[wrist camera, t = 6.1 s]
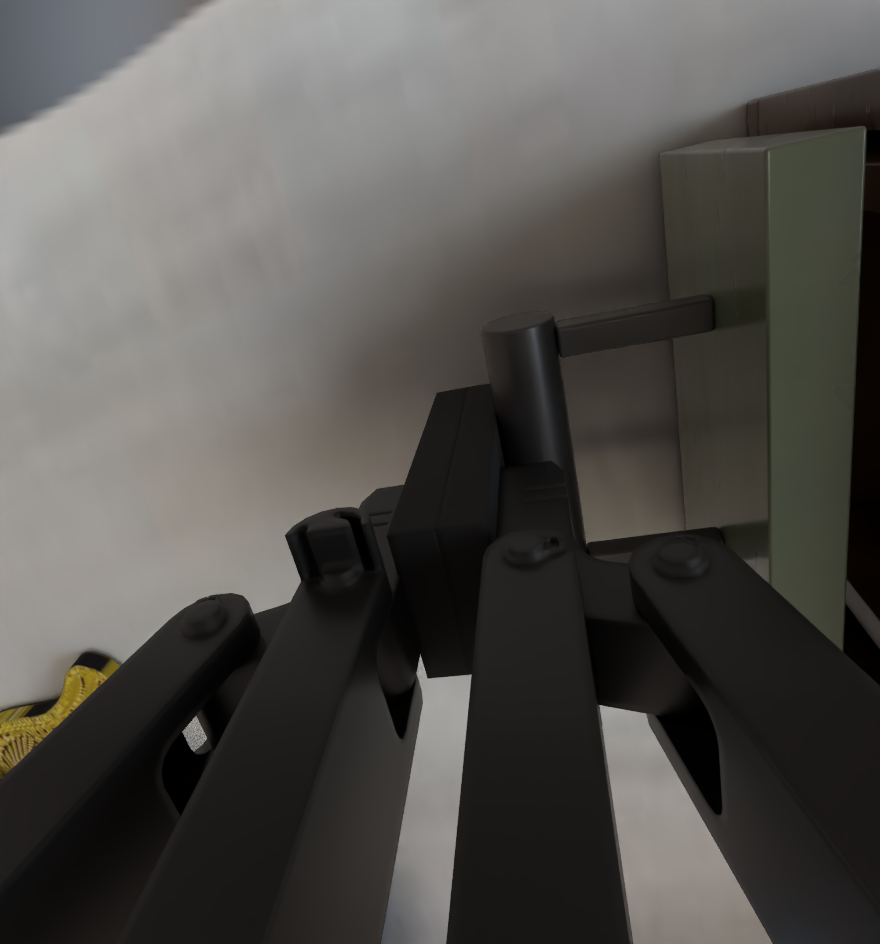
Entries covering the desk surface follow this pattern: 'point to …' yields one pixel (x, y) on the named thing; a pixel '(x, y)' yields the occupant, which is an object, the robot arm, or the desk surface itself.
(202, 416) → the desk surface
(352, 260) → the desk surface
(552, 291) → the desk surface
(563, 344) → the drawer
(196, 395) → the desk surface
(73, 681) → the decorative item
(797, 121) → the cabinet
